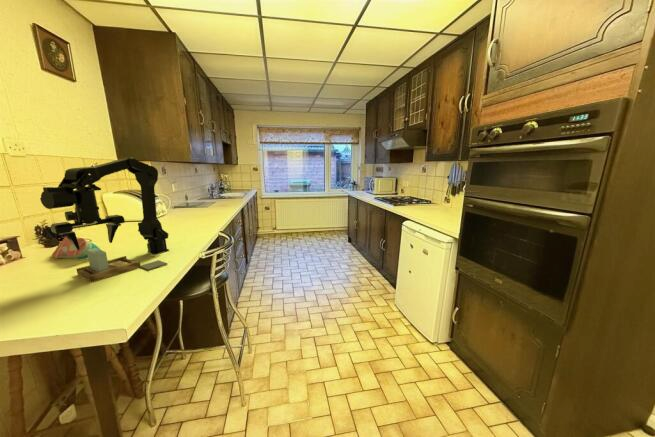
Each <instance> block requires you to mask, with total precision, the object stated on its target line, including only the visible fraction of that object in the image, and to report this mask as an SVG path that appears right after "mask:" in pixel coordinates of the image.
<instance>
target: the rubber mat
mask: <svg viewBox="0 0 655 437" xmlns="http://www.w3.org/2000/svg"><path fill="white" fill-rule="evenodd" d="M167 265H168V262H165V261H161V260H159V259H158V260H154V261H152V262H148V263H145V264H140V267H139V268H141V269H143V270H146V271H152V270H155V269H158V268H162V267H165V266H167Z"/></svg>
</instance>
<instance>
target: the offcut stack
mask: <svg viewBox="0 0 655 437" xmlns="http://www.w3.org/2000/svg"><path fill="white" fill-rule="evenodd" d="M126 264H129V263H127V262H123V261H117V262H114V263H110V264H108V265H109V267H110V268H116V267H119V266H123V265H126Z"/></svg>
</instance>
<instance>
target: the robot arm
mask: <svg viewBox="0 0 655 437" xmlns="http://www.w3.org/2000/svg"><path fill="white" fill-rule="evenodd" d="M124 170H127V171H128V172H129V173H130V174H132V175H134V176H135V180H136V182H137V183H138V184H139V186H140V194H141V204H142V216H143V217H142V220H141V222H140V221H139V222H138V223H137V225H138V232H139V235H141V236H142V237H143V239H144V241H147V243H146V247H147V253H149V254H152V255H158V254H161V253H165V252H168V251H170V249H168V246H167V240H166V239H168V238H169V233H168V232H167V231H165V230H164V229H163V226H162V222H161V221H160V220H159V219H158V214H157V202H156V192H155V191H156V190H155V186H156V184H157V182H158V181H159V170H158V169H157V168H156V167H155V166H153V165H149V164H147V163H146V162H143V161H139V160H137V159H136V158H133V157H122V158H120V159H117V160H112V161H110V162H105V163H101V164H97V165H94V166H86V167H85V166H83V167H82V166H81V167H72V168H68V169H66V170H65V171H64V172H65V173H64V177H63V178H62V180H61V181H60V183H59V184H58V186H56V187H55V186H52V187H51V186H49V187H48V186H47V187H45V186H44V187H42V189H43V191H42V192H41V195H40V198H39V200H40V202H41V204H42V205H43V207H44V209H45V208H46V209H48V210H53V209H54V210H55V209H59V208H60V209H61V208H68V207H69V208H70V207H74V211H73V210H69V211H64V217H65V220H66V221H64V222H63V221H62V222H61V221H60V222H54V223H52V224H51V225H50V231H51V232H52V233H53V234H56V235H61V236H64V237H67V238H68V239H69V240H70V241H71V242H72V244H73V245H74V246H75V248H76V249H77V250H80V249H79V244H78V241H77V238H78V237H77V235H76V232H75V231H73V229H79V228H80V229H81V228H86V227H92V226H98V225H99V226H100V225H105V226H106V229H107V237H108V242H109V244H112V243H113V240H114V238H115V234H116V232H117V230H118V228H119V227H121V226H122V224H124V223H126V220H125V217H124V216H122V215H119V214H114V215H107V216H105V218H102V217H101V216H100V212H99V210H100V206H99V205H98V201H97V197H96V196H97V195H96V192H95V191H101V190H102V188H101V187H99V186H97V185H96V184H95V183H97V182H98V181H100V180H101V179H102V178H104V177H106V176H109V175H112V174H115V173H118V172H122V171H124ZM70 221H73V223H70Z"/></svg>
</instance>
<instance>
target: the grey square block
mask: <svg viewBox="0 0 655 437" xmlns="http://www.w3.org/2000/svg"><path fill="white" fill-rule="evenodd" d="M87 255H88V258H87V259H88V264H89V265H90V269H92V270H94V271H96V272H97V273H98V272H101V271H105V270H109V265H108V257H107V252H106V251H104V250H102V249H101V250H99V249H97V248H93V249H89V250H87Z"/></svg>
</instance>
